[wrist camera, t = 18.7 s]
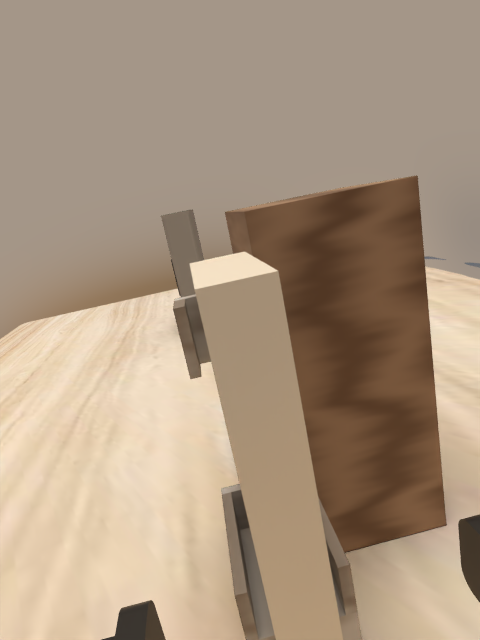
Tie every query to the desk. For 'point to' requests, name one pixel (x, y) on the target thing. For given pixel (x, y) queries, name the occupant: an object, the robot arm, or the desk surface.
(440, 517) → the cabinet
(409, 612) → the desk surface
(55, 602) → the desk surface
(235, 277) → the beige rectangular block
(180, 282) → the cassette tape recorder
